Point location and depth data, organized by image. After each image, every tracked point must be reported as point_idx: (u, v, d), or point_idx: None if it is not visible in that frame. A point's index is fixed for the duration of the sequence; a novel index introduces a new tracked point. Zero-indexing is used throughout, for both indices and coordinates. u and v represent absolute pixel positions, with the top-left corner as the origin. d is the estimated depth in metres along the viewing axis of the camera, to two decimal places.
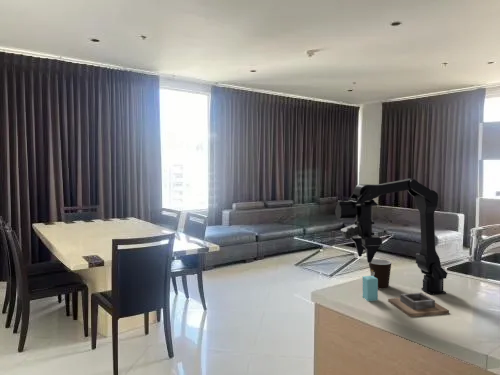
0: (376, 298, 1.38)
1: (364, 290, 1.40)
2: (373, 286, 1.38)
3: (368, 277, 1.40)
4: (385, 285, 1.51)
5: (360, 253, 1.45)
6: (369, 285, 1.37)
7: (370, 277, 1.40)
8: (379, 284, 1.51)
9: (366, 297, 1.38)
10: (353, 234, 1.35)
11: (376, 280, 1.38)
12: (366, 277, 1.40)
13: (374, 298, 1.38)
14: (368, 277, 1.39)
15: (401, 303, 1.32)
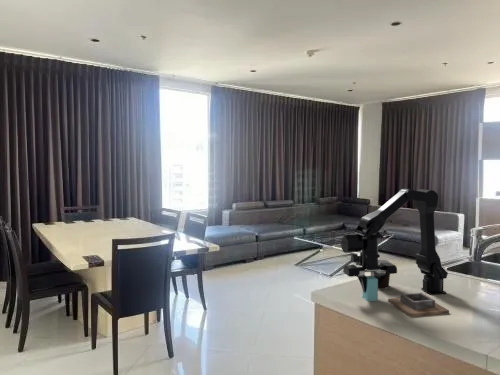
0: (376, 298, 1.38)
1: None
2: (373, 286, 1.38)
3: (368, 277, 1.40)
4: (385, 285, 1.51)
5: None
6: (369, 285, 1.37)
7: (370, 277, 1.40)
8: None
9: (366, 297, 1.38)
10: (352, 261, 1.44)
11: (376, 280, 1.38)
12: None
13: (374, 298, 1.38)
14: (368, 277, 1.39)
15: (401, 303, 1.32)
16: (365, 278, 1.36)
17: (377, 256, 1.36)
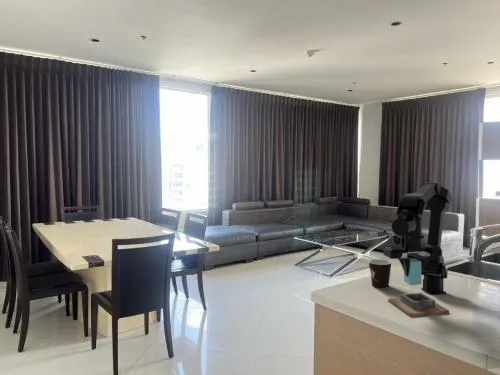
0: (419, 282, 1.29)
1: None
2: (417, 269, 1.29)
3: (410, 260, 1.31)
4: (385, 285, 1.51)
5: None
6: (412, 268, 1.29)
7: (413, 260, 1.31)
8: (379, 284, 1.51)
9: (409, 281, 1.30)
10: (393, 243, 1.35)
11: (420, 263, 1.29)
12: None
13: (417, 282, 1.29)
14: (411, 260, 1.30)
15: (401, 303, 1.32)
16: (408, 260, 1.27)
17: (421, 237, 1.27)
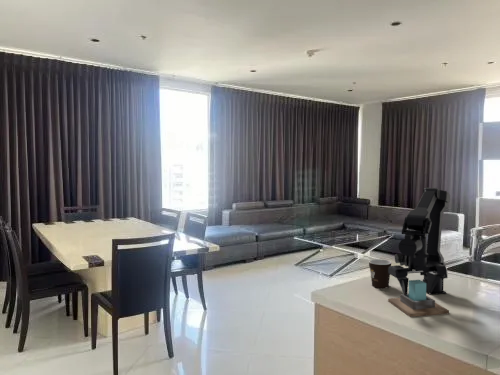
0: None
1: (411, 295, 1.31)
2: (422, 291, 1.28)
3: (415, 281, 1.30)
4: (385, 285, 1.51)
5: (428, 290, 1.31)
6: (417, 290, 1.28)
7: (417, 281, 1.30)
8: (379, 284, 1.51)
9: None
10: (397, 261, 1.35)
11: (424, 284, 1.28)
12: (413, 281, 1.30)
13: None
14: (416, 281, 1.30)
15: (401, 303, 1.32)
16: (407, 280, 1.27)
17: (426, 256, 1.27)
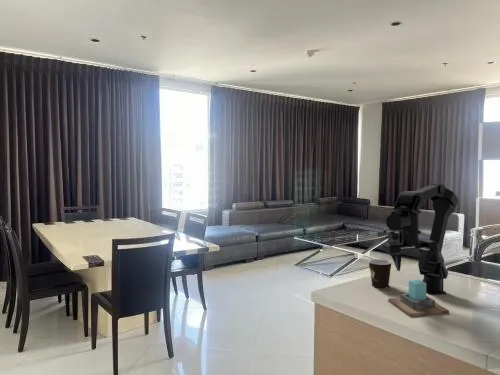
0: None
1: (411, 295, 1.31)
2: (422, 291, 1.28)
3: (415, 281, 1.30)
4: (385, 285, 1.51)
5: (421, 265, 1.36)
6: (417, 290, 1.28)
7: (417, 281, 1.30)
8: (379, 284, 1.51)
9: None
10: (390, 238, 1.39)
11: (424, 284, 1.28)
12: (413, 281, 1.30)
13: None
14: (416, 281, 1.30)
15: (401, 303, 1.32)
16: (400, 256, 1.31)
17: (418, 232, 1.32)
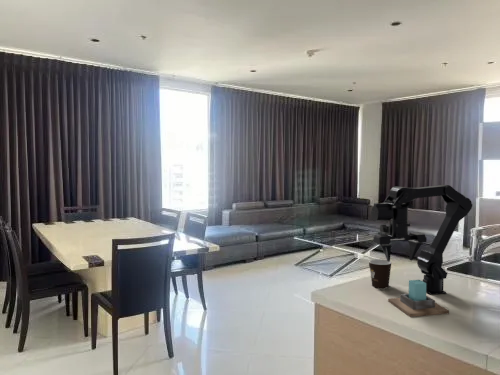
0: None
1: (411, 295, 1.31)
2: (422, 291, 1.28)
3: (415, 281, 1.30)
4: (385, 285, 1.51)
5: (410, 257, 1.43)
6: (417, 290, 1.28)
7: (417, 281, 1.30)
8: (379, 284, 1.51)
9: None
10: (382, 231, 1.47)
11: (424, 284, 1.28)
12: (413, 281, 1.30)
13: None
14: (416, 281, 1.30)
15: (401, 303, 1.32)
16: (389, 247, 1.39)
17: (407, 225, 1.39)
